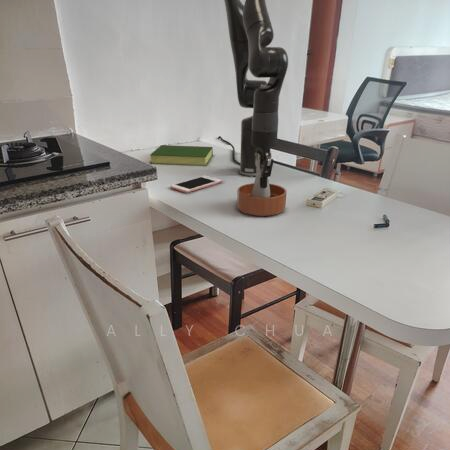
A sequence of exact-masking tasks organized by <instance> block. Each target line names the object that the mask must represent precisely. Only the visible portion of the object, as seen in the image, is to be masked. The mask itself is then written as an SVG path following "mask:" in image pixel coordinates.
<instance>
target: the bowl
mask: <svg viewBox="0 0 450 450" xmlns="http://www.w3.org/2000/svg"><path fill="white" fill-rule="evenodd" d="M269 186H270V197H269V198H257V197H252V191H253V187H254V182H253V183H247V184H243V185H241V186H239V187H237V193H236V207H237V209H238V210H239V211H240V212H242V213H245V214H248V215H252V216H259V217H266V216H275V215H279V214H281V213H283V212H284V211H285V210H286V204H287V203H286V201H287V189H286V188H285V187H283V186H281V185H278V184H274V183H269Z"/></svg>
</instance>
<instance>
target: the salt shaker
mask: <svg viewBox="0 0 450 450" xmlns="http://www.w3.org/2000/svg"><path fill="white" fill-rule="evenodd" d="M261 166H262V167H263V165H262V164H261ZM256 167H257V168H258V160H257V161H256ZM265 173H266V171H265ZM253 183H254V187H253V191H252V197H257V198H269V197H270V186H269V184H270V177H268V179H267V187H266V188H261V187H260V169H259V168H258V169H257V173H256V176H255V177H254V182H253Z"/></svg>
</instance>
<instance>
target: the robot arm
mask: <svg viewBox="0 0 450 450" xmlns="http://www.w3.org/2000/svg"><path fill="white" fill-rule="evenodd" d="M223 2H224V6H225V7H224V8H225V13H226V20H227V27H228V34H229V42H230V49H231V54H232V59H233V65H234V72H235V83H236V85H235V86H236V95H237V96H236V97H237V100H238V105H239V106H240V107H241V108H244V109H253V112H252V115H251V116H248V117H244V118H243V119H242V120H241V123H240V160H239V161H238V160H236V157H235V155H236V150H235V146H234V145H233V144H232V143H231V142H229V141H228V140H225V139H223V138H222V136H220V135H219V136H218V137H217V140H221V141H222V142H223V143H226V144H227V145H229V146H230V147H231V148H232V161H233V162H234V163H236V164H237V165H239V174H240V175H242V176H245V177H256V173H257V169H258V168H259V169H260V187H261V188H266V187H267V179H268V178H270V177H271V175H272V170H273V167H274V166H273V165H274V161H275V160H274V158H272V156H273V155H272V152H271V149H272V148H274V147H276V146H277V144H278V132H279V130H278V129H279V106H280V94H281V91H282V87H283V84H284V81H285V77H286V75H287V71H288V67H289V56H288V53H287V51H286V50H285V49H284V48H283V47H280V46H269V45H271V43H272V42H273V40H274V36H275V35H274V29H273V25H272V21H271V18H270V13H269V12H268V7H267V4H266V2H267V1H266V0H245V1H244V4H243V3H242V1H241V0H223ZM248 72H250V74H251V75H252V76H253V77H254V78H257V79H258V80H257V79H255V80H254V79H248V77H247V76H248V75H247V73H248ZM261 78H263V79H265V78H269V79H268V81H266V80H259V79H261ZM257 160H258V168H257V167H256V161H257ZM261 164H262V165H263V167H262V166H261ZM265 171H266V173H265Z"/></svg>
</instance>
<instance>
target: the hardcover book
mask: <svg viewBox="0 0 450 450" xmlns="http://www.w3.org/2000/svg"><path fill="white" fill-rule="evenodd" d="M213 149H214V147H213V146H196V145H195V146H194V145H171V144H169V145H168V144H167V145H165V144H163V145H162V144H161V145H159V146H158V147H157V148H156V149H155V150H154V151H152V153H150V154H149V156H150V165H151V164H152V165H177V166H200V167H201V166H202V167H205V166H207V165H208V164H209V162H210V160H211V159H212V157H213V156H214V154H213V151H214V150H213Z"/></svg>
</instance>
